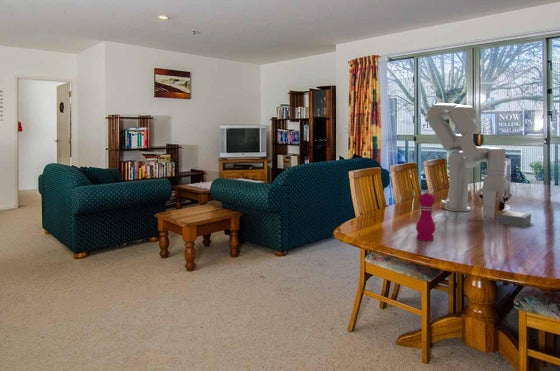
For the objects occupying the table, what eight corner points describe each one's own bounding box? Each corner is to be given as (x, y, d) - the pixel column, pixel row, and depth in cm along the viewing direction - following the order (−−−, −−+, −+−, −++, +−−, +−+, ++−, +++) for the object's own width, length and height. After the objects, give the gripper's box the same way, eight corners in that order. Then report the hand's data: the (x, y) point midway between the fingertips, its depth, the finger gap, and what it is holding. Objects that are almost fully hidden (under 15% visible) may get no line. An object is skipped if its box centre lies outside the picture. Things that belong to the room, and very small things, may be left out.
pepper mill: (418, 236, 176) (420, 187, 173) (436, 238, 172) (439, 189, 169) (413, 239, 170) (415, 190, 167) (431, 242, 166) (434, 191, 163)
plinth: (497, 222, 198) (497, 214, 197) (504, 219, 206) (505, 210, 205) (523, 226, 190) (524, 217, 190) (530, 222, 198) (531, 213, 198)
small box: (494, 218, 207) (496, 192, 205) (481, 216, 212) (483, 190, 210) (503, 216, 211) (505, 190, 209) (491, 214, 216) (492, 188, 215)
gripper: (474, 172, 212) (472, 208, 214) (512, 175, 200) (510, 212, 202) (479, 171, 217) (477, 205, 220) (517, 174, 205) (514, 210, 208)
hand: (493, 208), depth 211 cm, fingers closed on small box, 7 cm apart
